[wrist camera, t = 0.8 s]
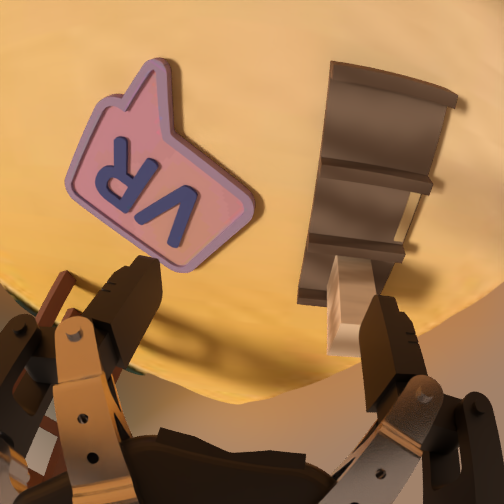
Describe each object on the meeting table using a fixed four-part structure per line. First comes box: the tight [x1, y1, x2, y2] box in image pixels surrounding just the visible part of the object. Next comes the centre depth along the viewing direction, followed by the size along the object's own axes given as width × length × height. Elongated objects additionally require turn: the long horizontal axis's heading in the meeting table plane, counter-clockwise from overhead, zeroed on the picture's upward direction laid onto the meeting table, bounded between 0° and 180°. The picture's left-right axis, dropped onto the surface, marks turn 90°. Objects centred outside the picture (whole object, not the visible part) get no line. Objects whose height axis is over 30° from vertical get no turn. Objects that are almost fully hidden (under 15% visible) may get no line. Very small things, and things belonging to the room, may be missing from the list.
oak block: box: [327, 255, 376, 357], centre depth 29 cm, size 6×4×9 cm, turn 179°
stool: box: [12, 270, 123, 489], centre depth 36 cm, size 20×35×20 cm
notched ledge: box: [297, 61, 458, 307], centre depth 27 cm, size 26×10×2 cm, turn 179°
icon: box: [65, 58, 255, 273], centre depth 29 cm, size 19×2×20 cm
